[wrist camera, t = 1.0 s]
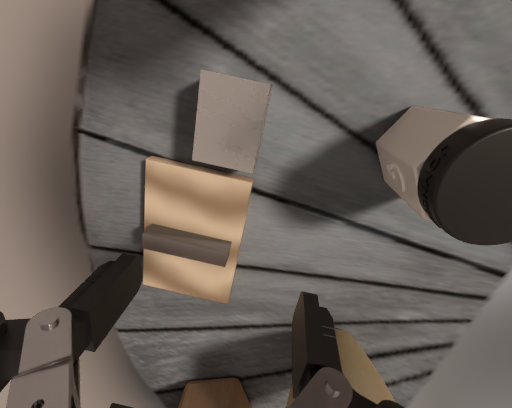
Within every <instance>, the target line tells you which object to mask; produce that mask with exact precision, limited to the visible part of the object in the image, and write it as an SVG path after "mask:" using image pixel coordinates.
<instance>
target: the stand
mask: <svg viewBox="0 0 512 408" xmlns="http://www.w3.org/2000/svg"><path fill="white" fill-rule="evenodd" d="M253 180H254V179H253V178H249V177H244V176H240V175H235V174H231V173H227V172H222V171H218V170H213V169H209V168H204V167H200V166H195V165H191V164H186V163H182V162H177V161H173V160H168V159H164V158H159V157H155V156H151V157H149V158H147V159H146V171H145V214H144V232H143V234H142V248H143V249H144V258H143V284H144V285H148V286H153V287H157V288H161V289H166V290H170V291H174V292H179V293H183V294H187V295H192V296H196V297H200V298H205V299H209V300H213V301H217V302H222V303H226V304H228V301H229V297H230V292H231V287H232V283H233V278H234V273H235V268H236V263H237V258H238V253H239V248H240V243H241V238H242V234H243V229H244V224H245V219H246V214H247V209H248V204H249V199H250V194H251V189H252V184H253Z"/></svg>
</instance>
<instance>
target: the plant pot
mask: <svg viewBox="0 0 512 408" xmlns="http://www.w3.org/2000/svg"><path fill="white" fill-rule="evenodd" d="M334 330H335V334H336V339H337V345H338V350H339V356H340V361H341V367H342V372H343V375H344V376H345V377H346V378H347V379H348V381H349V383H350V385H351V387H352V388H353V389H354V390H355V391H356V392H357V393H359V394H360V395H362V396H364V397H366V398H367V399H369V400H371V401H373V402H374V403H376V404H378V403H379V402H380V401H382V400H391V401H394V402H395V400H394V399H393V397H392V395H391V393H390V392H389V390H388V388H387V386H386V385H385V383H384V381H383V380H382V378H381V377H380V375H379V373H378V372H377V370H376V369H375V367H374V366H373V364H372V363H371V361H370V360H369V358H368V357H367V355H366V354H365V352H364V351H363V350H362V348H361V347H360V346H359V344H358V343H357V342H356V340H355V339H354V338H353V337H352V336H351V335H350V334H349V333H347V332H345V331H343V330H340V329H336V328H334ZM294 400H295V399H294V398H293V382H292V386H291V389H290V393H289V397H288V402H287V406H286V407H287V408H288V407H289V406H290V405H291V404H292V403H293V402H294Z"/></svg>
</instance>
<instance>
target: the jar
mask: <svg viewBox="0 0 512 408" xmlns="http://www.w3.org/2000/svg"><path fill="white" fill-rule="evenodd" d="M376 147H377V151H378V156H379V160H380V164H381V169H382V173H383V177H384V181H385V182H386V183H387V184H388V185H389V186H390V187H391V188H392V189H393V190H394V191H395V192H396V193H397V194H398V195H399V196H400V197H401V198H402V199H403V200H404V201H405V202H406V203H407V204H408V205H409V206H410V207H411V208H412V209H413V210H414V211H415V212H416V213H417V214H418V215H419V216H420V217H421V218H422V219H424V220H428V221H433V222H434V223H435V224H436V225H437V226H438V227H439V228H442V229H443V230H444V231H445V232H446V233H448V234H449V235H451V236H452V237H454V238H456V239H458V240H460V241H463V242H466V243H470V244H475V245H498V244H504V243H509V242H512V119H493V118H487V117H481V116H475V115H468V114H462V113H456V112H449V111H443V110H437V109H430V108H424V107H418V106H412V107H410V108H409V109H408V110H407V111H406V112H405V113H404V114H403V115H402V116H401V117H400V118H399V119H398V120H397V121H396V122H395V123H394V124H393V125H392V126H391V127H390V128H389V129H388V130H387V131H386V132H385V133H384V134H383V135H382V136H381V137H380V138H379V139H378V140H377V141H376Z"/></svg>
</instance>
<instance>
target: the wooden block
mask: <svg viewBox="0 0 512 408" xmlns="http://www.w3.org/2000/svg"><path fill="white" fill-rule="evenodd" d="M178 408H252V407H251V405H250V403H249V401H248V398H247V396H246V394H245V392H244V390H243V387H242V385H241V383H240V381H239V379H237V378H234V377H233V378H221V379H209V380H196V381H190V382H188V383H187V384H186V385H185V388H184V391H183V394H182V397H181V400H180V403H179V406H178Z"/></svg>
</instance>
